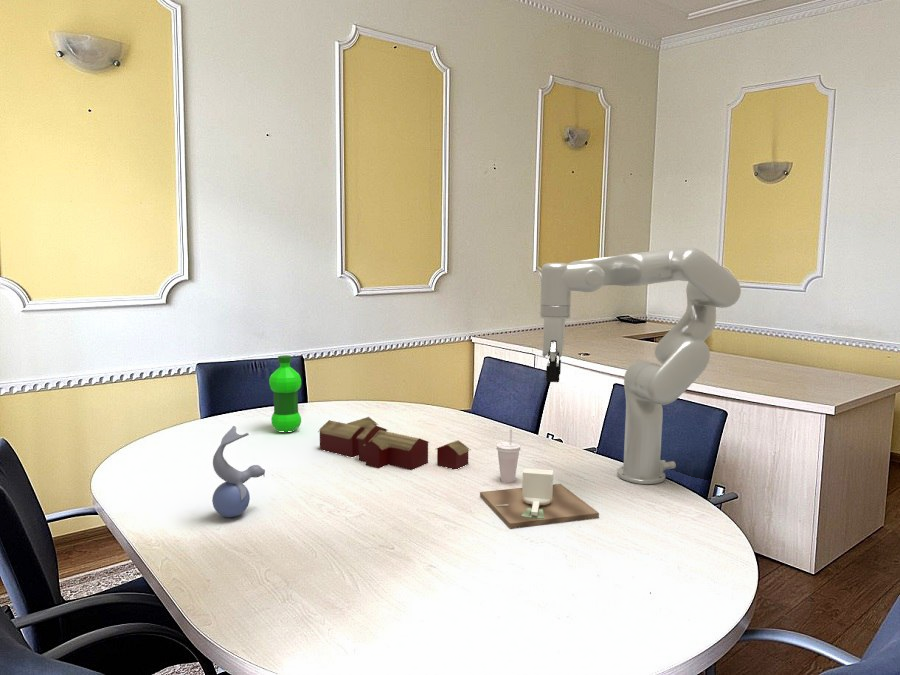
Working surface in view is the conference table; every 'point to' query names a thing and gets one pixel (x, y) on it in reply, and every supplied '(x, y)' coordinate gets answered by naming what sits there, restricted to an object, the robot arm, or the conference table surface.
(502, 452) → the smoothie
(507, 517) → the dial board
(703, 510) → the conference table surface
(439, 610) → the conference table surface
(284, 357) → the plastic bottle
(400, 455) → the toy houses
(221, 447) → the seal
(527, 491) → the peg knob
